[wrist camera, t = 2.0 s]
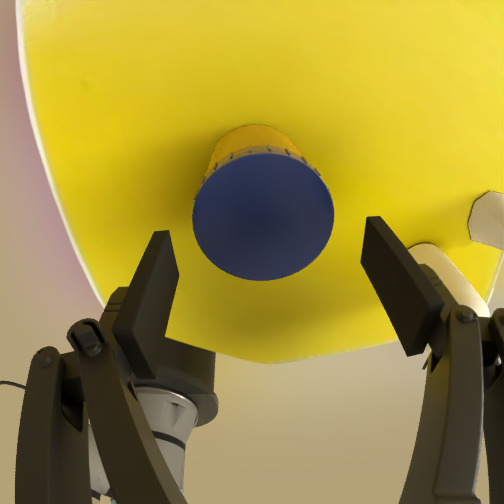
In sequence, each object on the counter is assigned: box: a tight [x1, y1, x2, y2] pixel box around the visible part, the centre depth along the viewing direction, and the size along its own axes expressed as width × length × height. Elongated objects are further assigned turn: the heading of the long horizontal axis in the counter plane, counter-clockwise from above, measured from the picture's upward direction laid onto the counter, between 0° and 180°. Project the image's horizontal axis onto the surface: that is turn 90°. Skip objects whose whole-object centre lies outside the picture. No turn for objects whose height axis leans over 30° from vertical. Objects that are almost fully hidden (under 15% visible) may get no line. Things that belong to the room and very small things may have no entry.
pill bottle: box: [408, 244, 490, 355], centre depth 27 cm, size 8×8×15 cm
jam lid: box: [192, 144, 334, 281], centre depth 18 cm, size 8×8×2 cm
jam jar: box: [205, 124, 302, 176], centre depth 22 cm, size 8×8×10 cm
